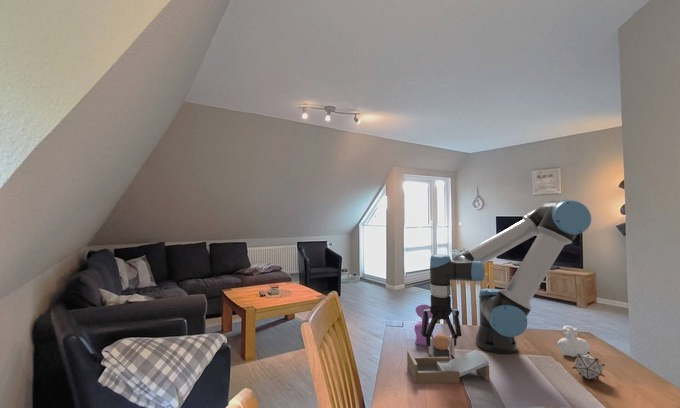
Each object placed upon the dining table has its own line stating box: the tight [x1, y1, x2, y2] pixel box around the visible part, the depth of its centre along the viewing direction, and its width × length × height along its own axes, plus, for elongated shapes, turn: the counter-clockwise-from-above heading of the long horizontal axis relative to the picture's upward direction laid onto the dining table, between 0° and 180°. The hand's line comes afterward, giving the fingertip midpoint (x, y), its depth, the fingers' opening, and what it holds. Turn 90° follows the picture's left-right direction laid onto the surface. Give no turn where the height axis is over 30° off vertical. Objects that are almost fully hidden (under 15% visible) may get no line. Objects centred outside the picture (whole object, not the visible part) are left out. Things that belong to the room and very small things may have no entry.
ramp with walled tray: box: [406, 349, 491, 384], centre depth 109 cm, size 25×11×6 cm, turn 90°
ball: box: [433, 333, 450, 351], centre depth 123 cm, size 6×6×6 cm
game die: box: [571, 351, 606, 383], centre depth 105 cm, size 9×8×10 cm
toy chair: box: [414, 304, 435, 347], centre depth 136 cm, size 8×9×15 cm
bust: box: [556, 325, 591, 358], centre depth 124 cm, size 12×8×11 cm
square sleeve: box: [433, 346, 450, 358], centre depth 123 cm, size 5×5×2 cm
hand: (441, 354), depth 123 cm, fingers open, 8 cm apart
